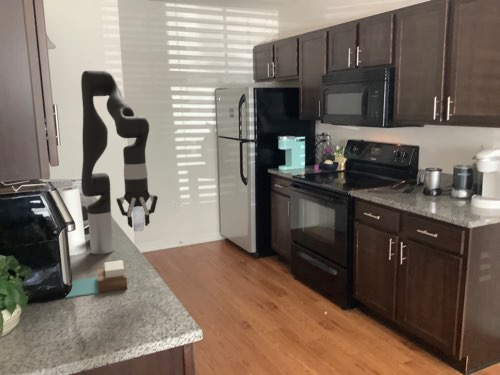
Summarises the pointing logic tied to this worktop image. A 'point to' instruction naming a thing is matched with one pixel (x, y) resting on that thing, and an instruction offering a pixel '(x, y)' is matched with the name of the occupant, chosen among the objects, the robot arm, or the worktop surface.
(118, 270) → the tile
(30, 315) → the worktop surface
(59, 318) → the worktop surface
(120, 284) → the board
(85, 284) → the mat
